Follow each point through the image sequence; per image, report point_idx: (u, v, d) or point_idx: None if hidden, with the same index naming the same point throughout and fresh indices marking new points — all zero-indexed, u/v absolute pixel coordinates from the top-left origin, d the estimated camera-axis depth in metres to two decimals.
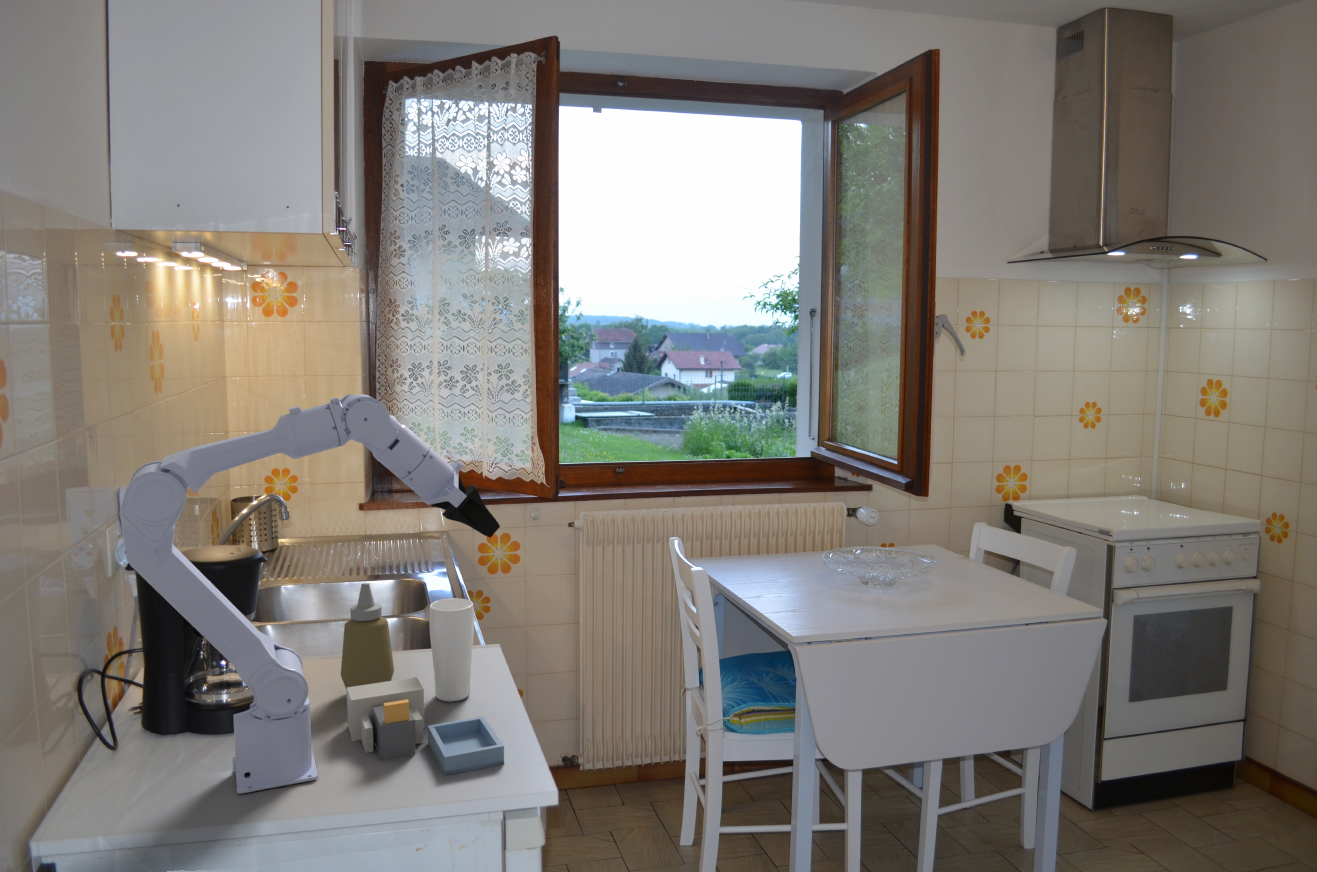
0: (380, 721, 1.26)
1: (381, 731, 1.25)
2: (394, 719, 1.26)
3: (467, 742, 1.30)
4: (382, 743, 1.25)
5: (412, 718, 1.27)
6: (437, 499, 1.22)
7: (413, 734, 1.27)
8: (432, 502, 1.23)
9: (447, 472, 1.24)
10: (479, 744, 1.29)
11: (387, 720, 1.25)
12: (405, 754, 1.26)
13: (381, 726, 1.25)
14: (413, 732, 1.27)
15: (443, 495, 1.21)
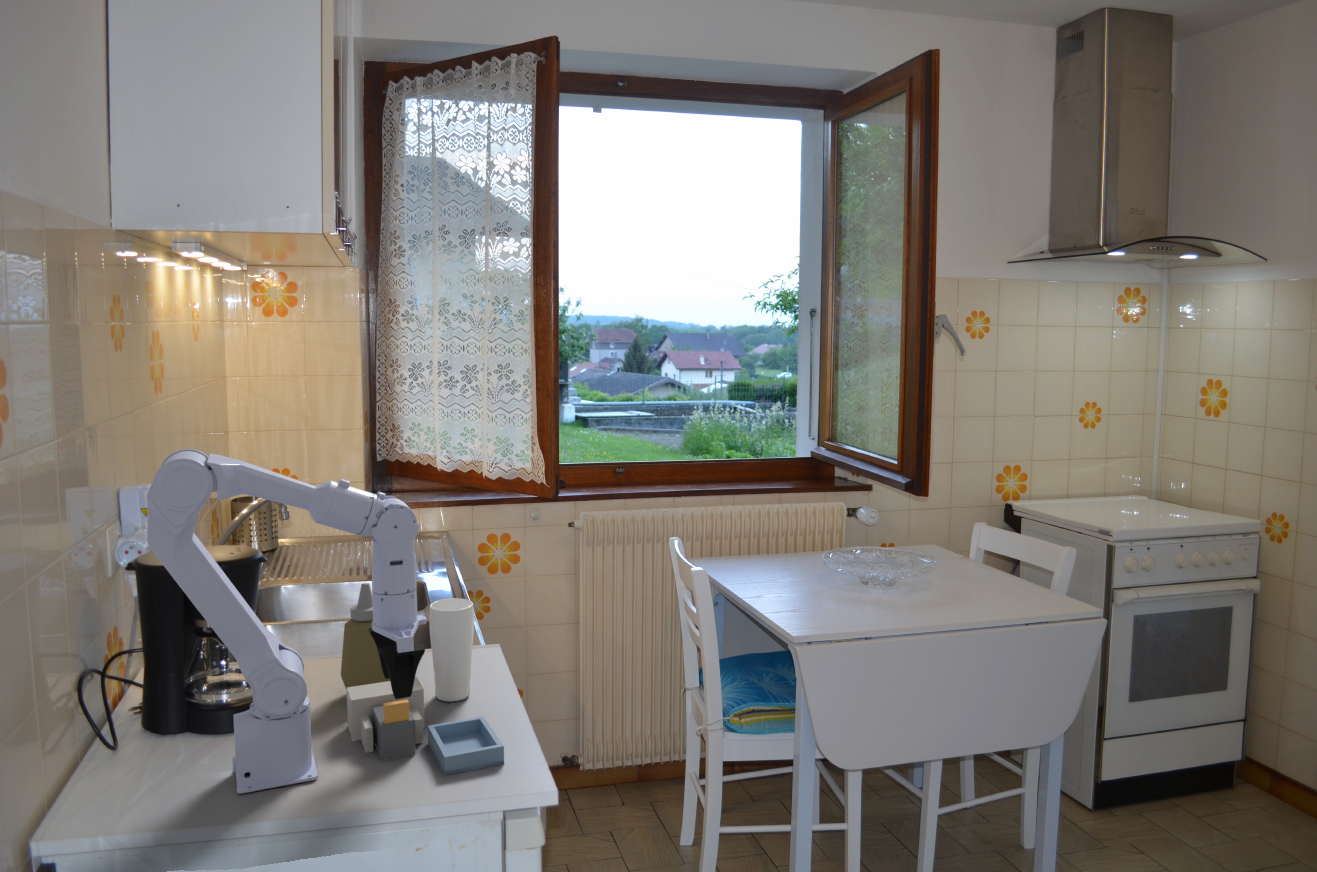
0: (380, 721, 1.26)
1: (381, 731, 1.25)
2: (394, 719, 1.26)
3: (467, 742, 1.30)
4: (382, 743, 1.25)
5: (412, 718, 1.27)
6: (387, 633, 1.20)
7: (413, 734, 1.27)
8: (380, 631, 1.21)
9: (412, 618, 1.23)
10: (479, 744, 1.29)
11: (387, 720, 1.25)
12: (405, 754, 1.26)
13: (381, 726, 1.25)
14: (413, 732, 1.27)
15: (395, 634, 1.20)
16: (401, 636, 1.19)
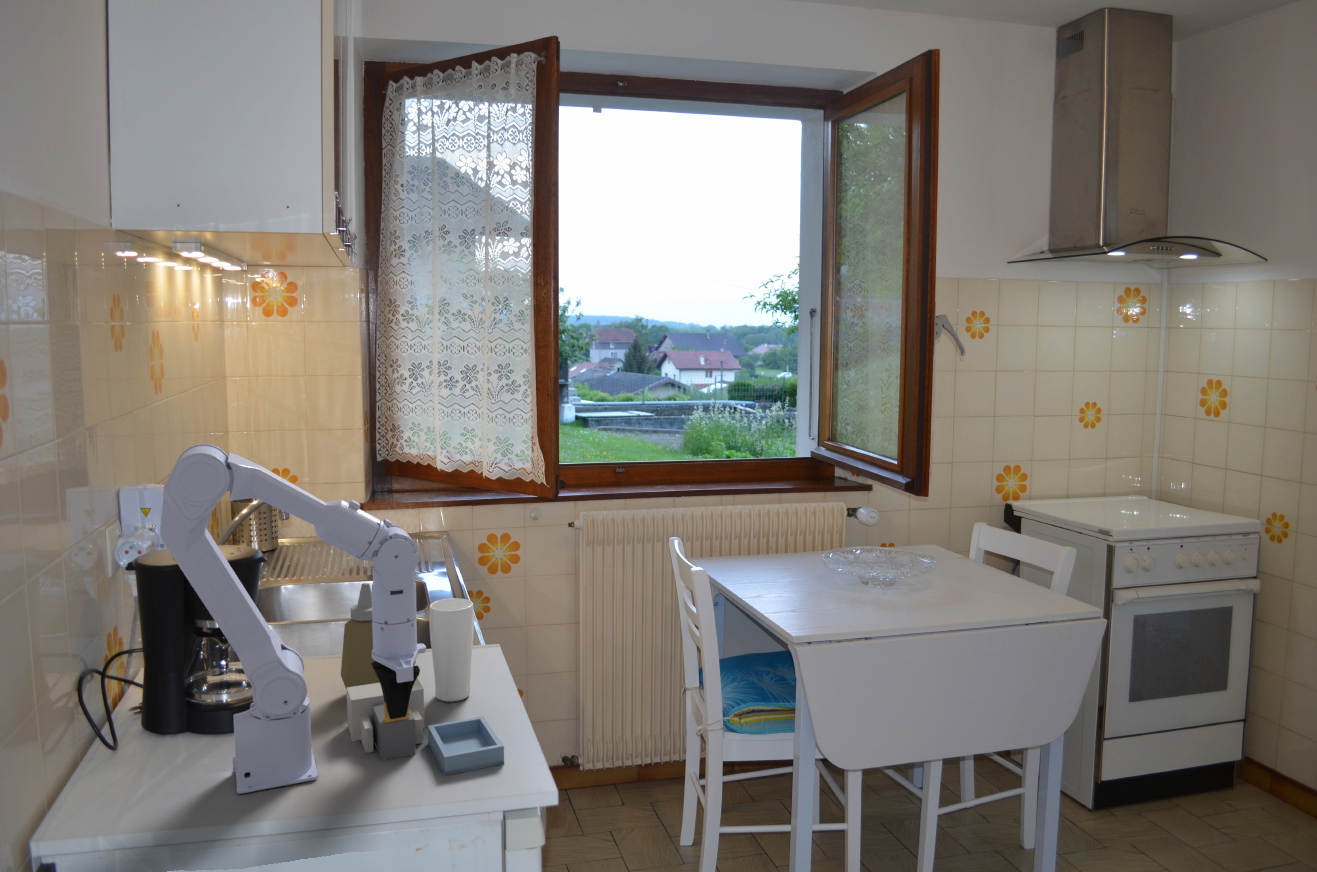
0: (380, 720, 1.26)
1: (381, 730, 1.25)
2: None
3: (467, 742, 1.30)
4: (382, 742, 1.25)
5: (412, 717, 1.27)
6: (387, 662, 1.21)
7: (413, 733, 1.27)
8: (380, 660, 1.22)
9: (411, 647, 1.24)
10: (479, 744, 1.29)
11: (387, 719, 1.25)
12: (405, 753, 1.26)
13: (381, 725, 1.25)
14: (413, 731, 1.27)
15: (395, 663, 1.20)
16: (401, 666, 1.20)
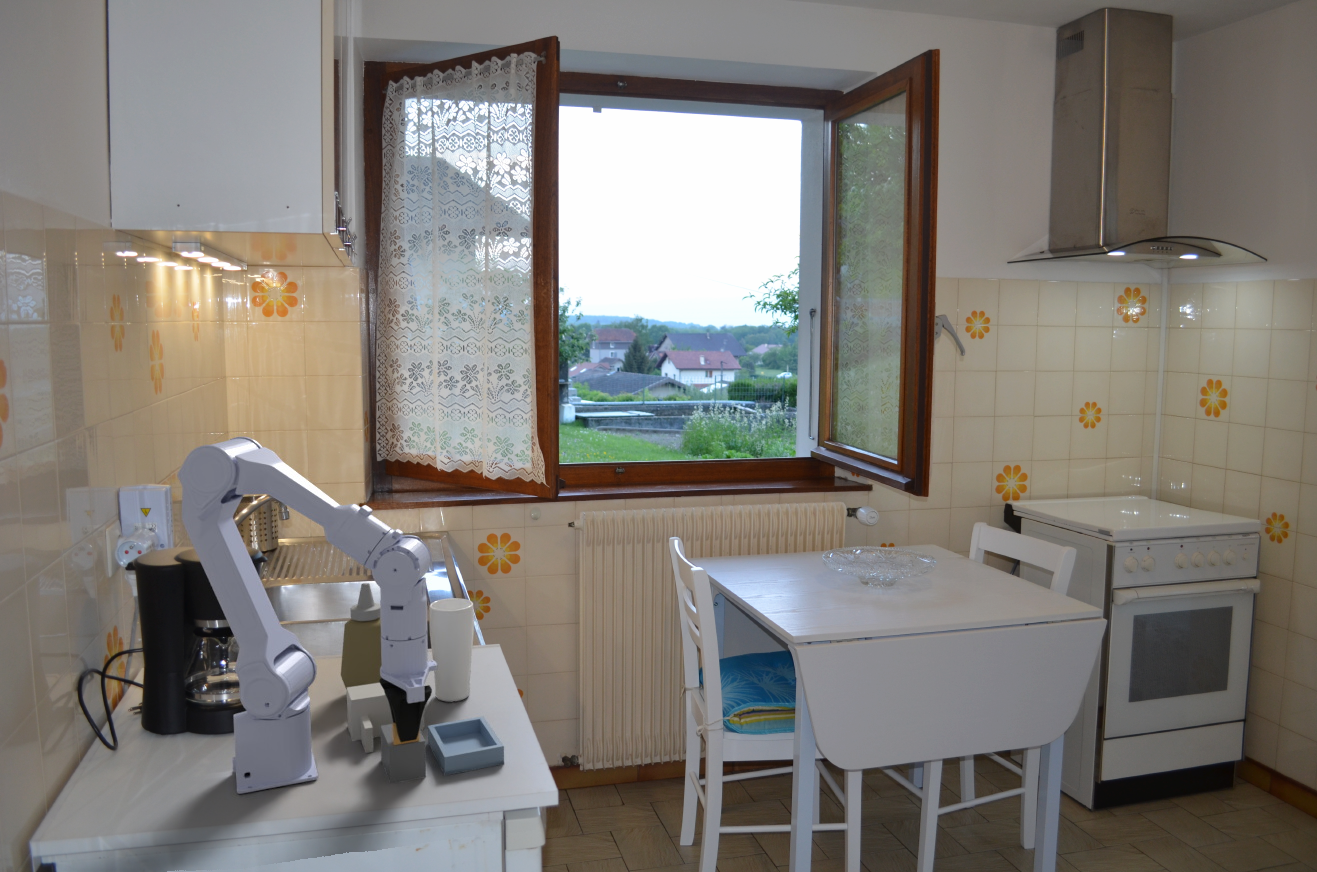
0: (389, 742, 1.19)
1: (390, 753, 1.18)
2: None
3: (467, 742, 1.30)
4: (391, 766, 1.19)
5: (422, 739, 1.21)
6: (397, 681, 1.14)
7: (423, 756, 1.20)
8: (389, 679, 1.16)
9: (422, 664, 1.18)
10: (479, 744, 1.29)
11: (396, 741, 1.19)
12: (415, 777, 1.20)
13: (390, 748, 1.18)
14: (423, 754, 1.20)
15: (405, 682, 1.14)
16: (411, 685, 1.14)
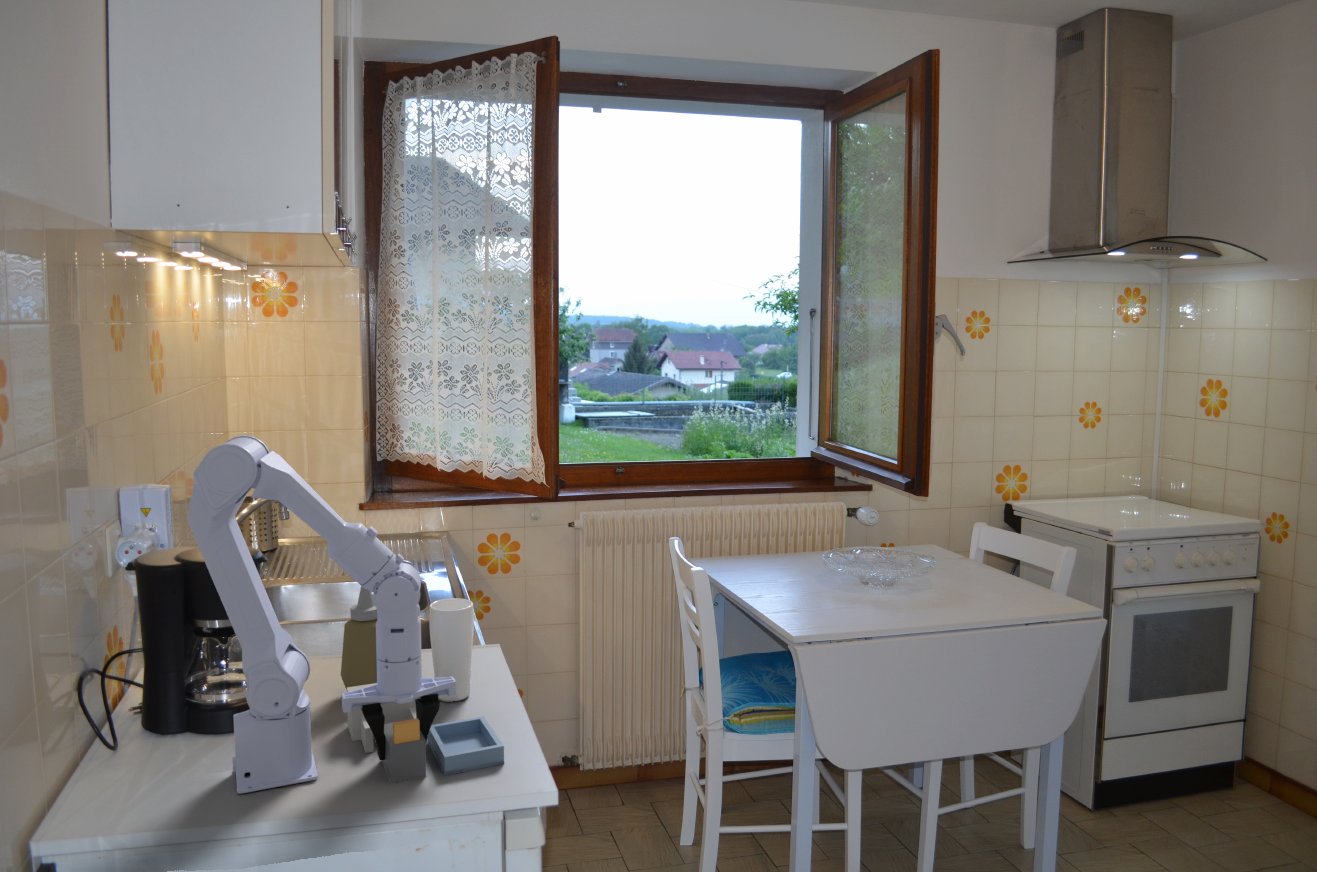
0: (389, 741, 1.19)
1: (390, 752, 1.18)
2: (404, 739, 1.19)
3: (467, 742, 1.30)
4: (391, 765, 1.19)
5: (423, 738, 1.21)
6: (365, 688, 1.23)
7: (424, 755, 1.20)
8: None
9: (384, 689, 1.20)
10: (479, 744, 1.29)
11: (396, 740, 1.19)
12: (415, 776, 1.20)
13: (390, 747, 1.18)
14: (424, 753, 1.20)
15: (361, 692, 1.22)
16: None
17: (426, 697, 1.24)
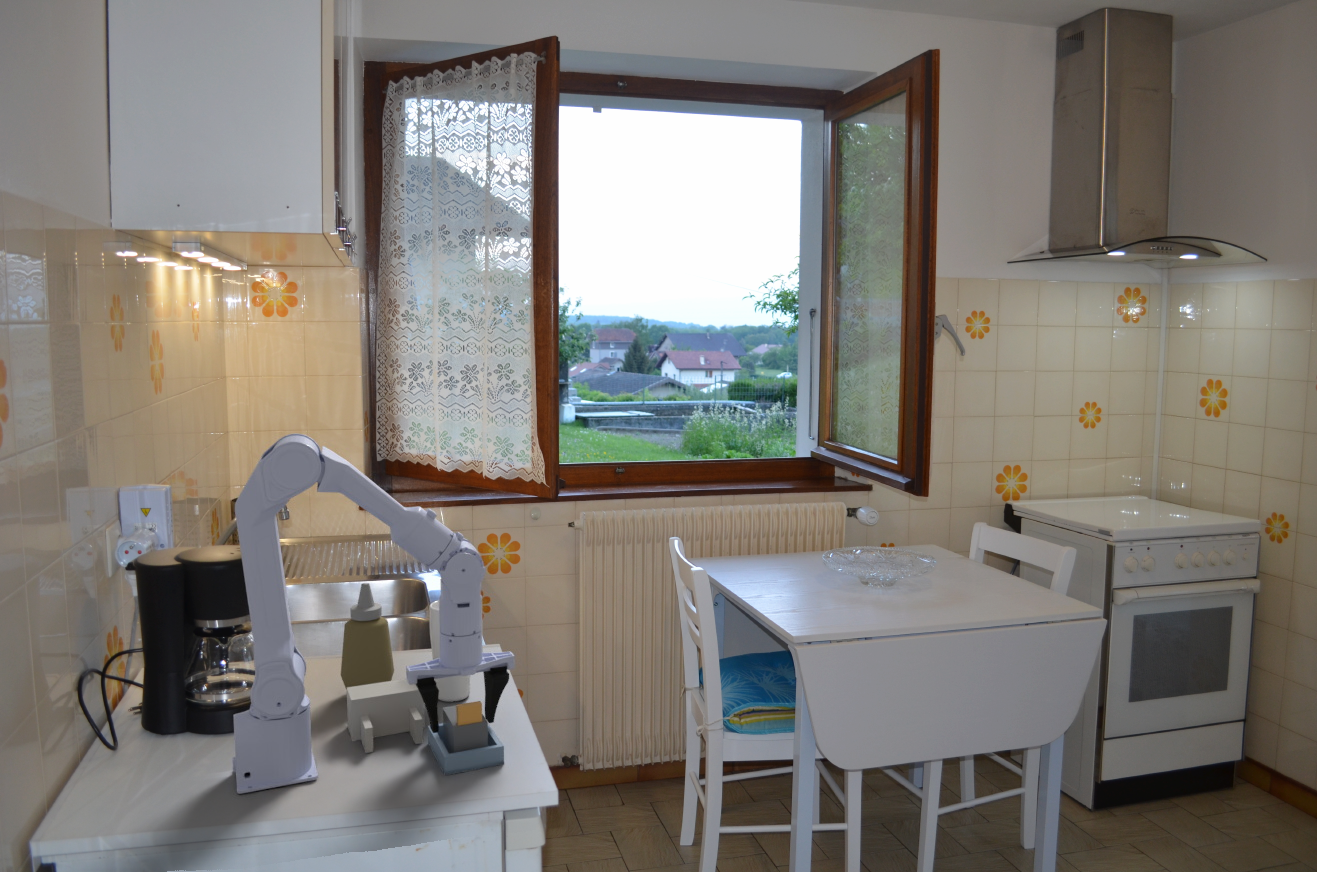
0: (453, 723, 1.24)
1: (454, 733, 1.23)
2: (467, 721, 1.24)
3: None
4: (455, 745, 1.23)
5: (485, 720, 1.25)
6: (428, 662, 1.27)
7: (486, 736, 1.25)
8: (440, 660, 1.28)
9: (448, 662, 1.25)
10: None
11: (460, 722, 1.23)
12: None
13: (454, 728, 1.23)
14: (486, 734, 1.25)
15: (425, 665, 1.26)
16: None
17: (486, 671, 1.28)
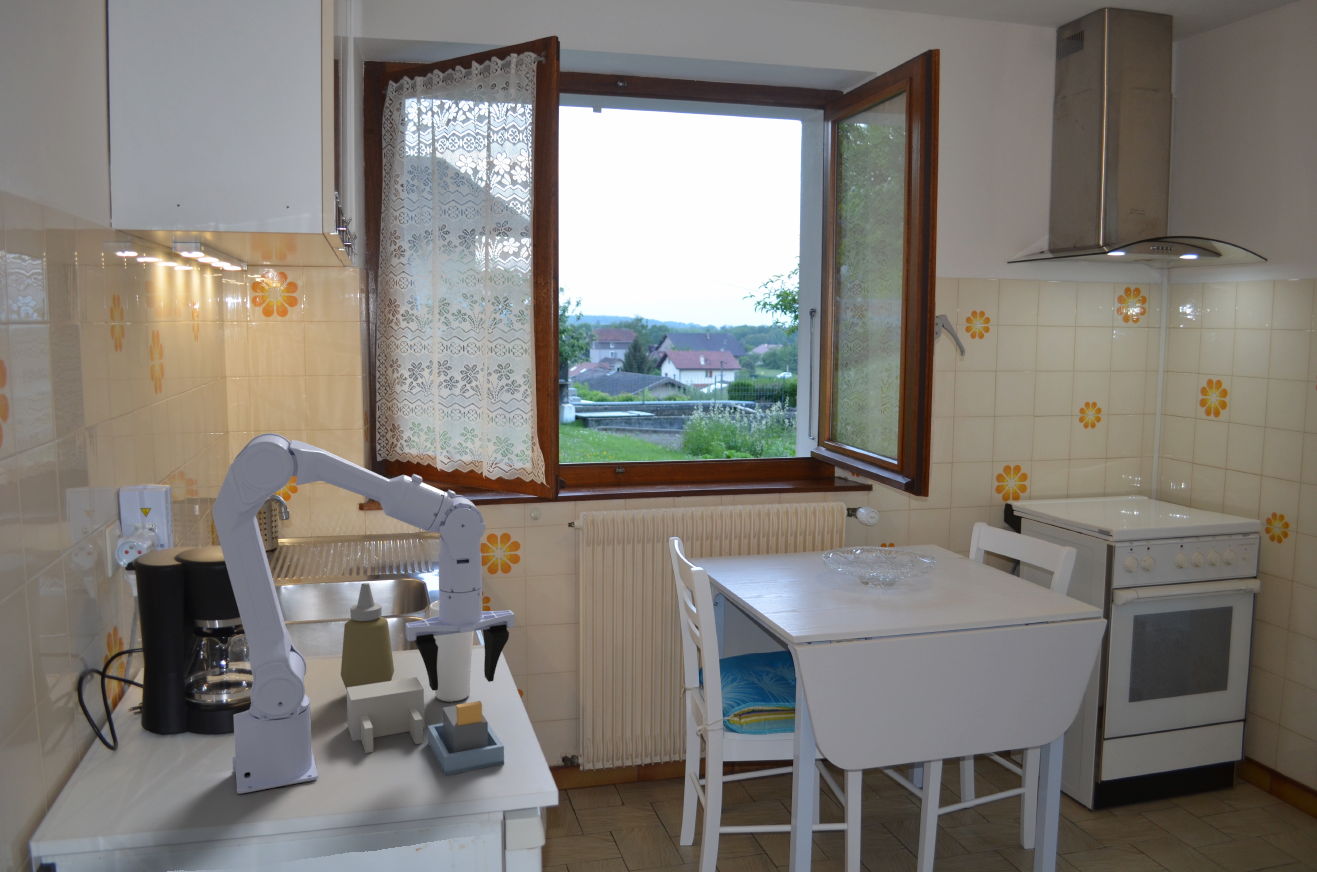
0: (453, 723, 1.24)
1: (454, 733, 1.23)
2: (467, 721, 1.24)
3: None
4: (455, 745, 1.23)
5: (485, 720, 1.25)
6: None
7: (486, 736, 1.25)
8: None
9: (447, 618, 1.24)
10: None
11: (460, 722, 1.23)
12: None
13: (454, 728, 1.23)
14: (486, 734, 1.25)
15: (424, 622, 1.25)
16: (418, 625, 1.24)
17: (486, 629, 1.27)
